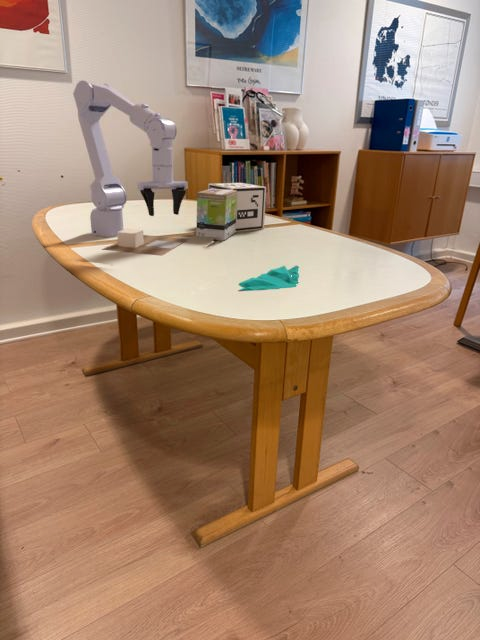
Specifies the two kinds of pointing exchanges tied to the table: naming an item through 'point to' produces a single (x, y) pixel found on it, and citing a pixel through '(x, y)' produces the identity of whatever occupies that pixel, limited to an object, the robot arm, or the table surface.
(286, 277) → the cloth
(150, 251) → the board
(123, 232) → the cream cube
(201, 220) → the tea box
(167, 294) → the table surface
